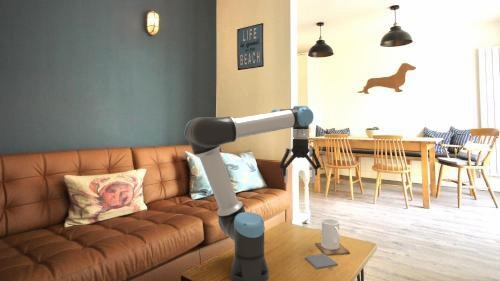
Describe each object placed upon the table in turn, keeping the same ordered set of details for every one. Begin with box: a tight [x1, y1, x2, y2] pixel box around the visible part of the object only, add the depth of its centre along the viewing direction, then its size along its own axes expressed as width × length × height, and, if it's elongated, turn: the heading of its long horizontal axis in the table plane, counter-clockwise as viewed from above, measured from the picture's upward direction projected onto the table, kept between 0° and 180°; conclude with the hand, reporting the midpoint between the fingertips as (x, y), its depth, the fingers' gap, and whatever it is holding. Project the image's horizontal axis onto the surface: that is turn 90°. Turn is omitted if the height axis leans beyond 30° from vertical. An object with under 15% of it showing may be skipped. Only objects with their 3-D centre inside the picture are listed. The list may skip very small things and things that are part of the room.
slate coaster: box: [304, 253, 339, 270], centre depth 123 cm, size 10×10×1 cm
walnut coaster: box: [314, 242, 351, 257], centre depth 135 cm, size 12×12×1 cm
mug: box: [320, 218, 341, 250], centre depth 135 cm, size 12×8×12 cm
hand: (299, 182), depth 137 cm, fingers open, 13 cm apart
